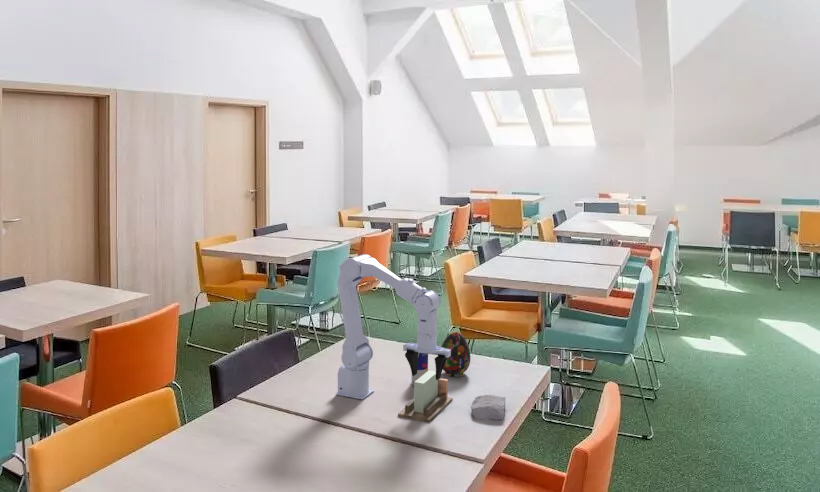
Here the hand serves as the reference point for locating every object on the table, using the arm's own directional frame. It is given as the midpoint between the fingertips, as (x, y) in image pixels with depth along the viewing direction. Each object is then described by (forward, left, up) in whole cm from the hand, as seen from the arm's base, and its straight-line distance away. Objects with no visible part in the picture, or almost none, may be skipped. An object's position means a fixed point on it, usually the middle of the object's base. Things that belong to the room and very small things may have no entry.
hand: (426, 376), depth 192 cm
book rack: (0, 0, -10) cm, 10 cm away
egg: (-3, +31, -10) cm, 33 cm away
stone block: (+18, +6, -10) cm, 21 cm away
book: (0, 0, -9) cm, 9 cm away
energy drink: (-10, +18, -10) cm, 23 cm away
